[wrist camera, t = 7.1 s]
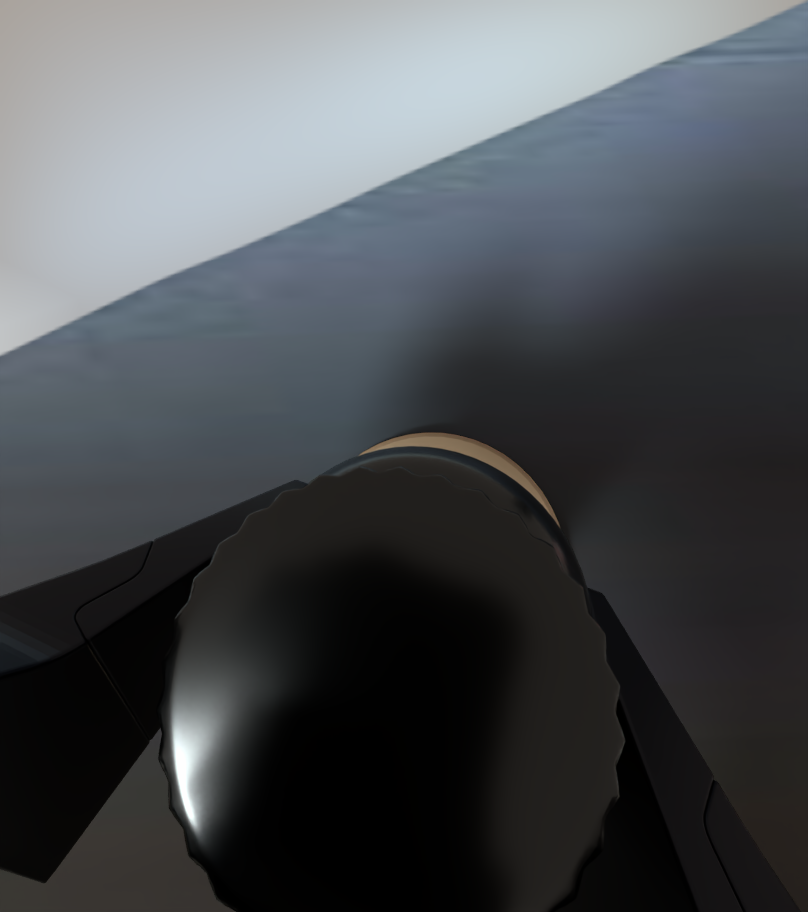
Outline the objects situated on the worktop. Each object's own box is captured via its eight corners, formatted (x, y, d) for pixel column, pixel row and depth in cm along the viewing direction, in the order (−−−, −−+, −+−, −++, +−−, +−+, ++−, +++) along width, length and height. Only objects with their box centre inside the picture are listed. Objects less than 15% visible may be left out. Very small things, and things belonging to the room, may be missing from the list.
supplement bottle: (466, 459, 16) (534, 275, 4) (546, 615, 15) (962, 963, 3) (320, 528, 16) (0, 531, 4) (385, 691, 15) (170, 1326, 3)
